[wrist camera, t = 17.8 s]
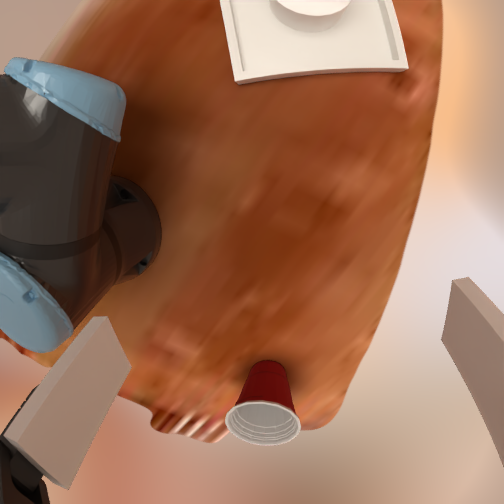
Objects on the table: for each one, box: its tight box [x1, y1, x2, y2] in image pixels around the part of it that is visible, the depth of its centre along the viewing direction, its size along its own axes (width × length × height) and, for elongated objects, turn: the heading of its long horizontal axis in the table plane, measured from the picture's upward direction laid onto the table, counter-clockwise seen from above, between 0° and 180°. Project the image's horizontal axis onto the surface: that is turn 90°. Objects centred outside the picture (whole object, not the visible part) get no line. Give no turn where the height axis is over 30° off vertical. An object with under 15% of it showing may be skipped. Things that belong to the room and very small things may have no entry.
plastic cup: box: [225, 360, 301, 446], centre depth 43 cm, size 11×11×12 cm
